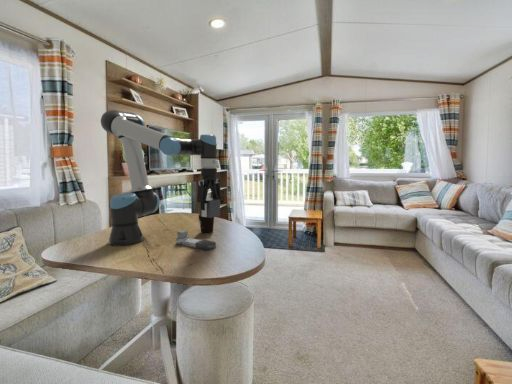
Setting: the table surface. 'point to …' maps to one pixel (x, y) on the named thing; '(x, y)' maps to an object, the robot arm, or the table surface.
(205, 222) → the coffee mug
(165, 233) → the table surface
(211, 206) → the dark grey cube
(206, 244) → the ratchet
